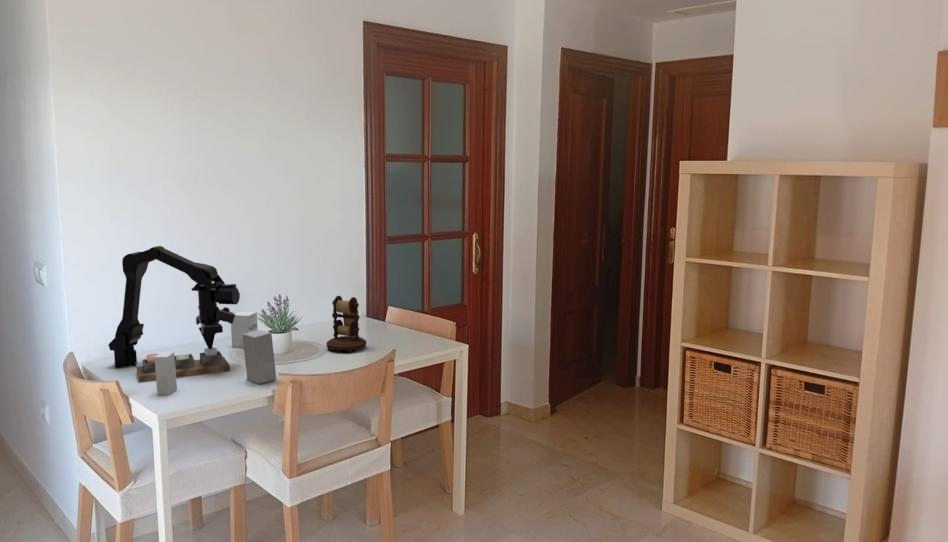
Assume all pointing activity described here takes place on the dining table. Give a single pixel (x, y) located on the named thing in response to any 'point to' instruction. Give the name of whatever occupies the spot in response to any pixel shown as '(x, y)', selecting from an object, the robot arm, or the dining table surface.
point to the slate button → (210, 352)
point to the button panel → (187, 367)
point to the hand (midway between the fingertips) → (210, 348)
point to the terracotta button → (151, 358)
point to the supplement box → (242, 327)
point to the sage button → (182, 357)
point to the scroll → (346, 326)
